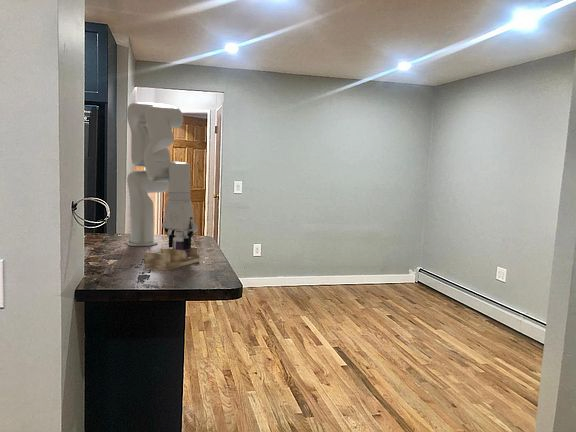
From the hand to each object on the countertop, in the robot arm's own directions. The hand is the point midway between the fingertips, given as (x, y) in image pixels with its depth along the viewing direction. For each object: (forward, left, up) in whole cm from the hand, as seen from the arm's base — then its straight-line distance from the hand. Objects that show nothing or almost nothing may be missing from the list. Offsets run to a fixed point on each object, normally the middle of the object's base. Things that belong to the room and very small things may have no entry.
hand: (179, 247), depth 165 cm
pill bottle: (0, 0, -4) cm, 4 cm away
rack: (0, -4, -5) cm, 7 cm away
